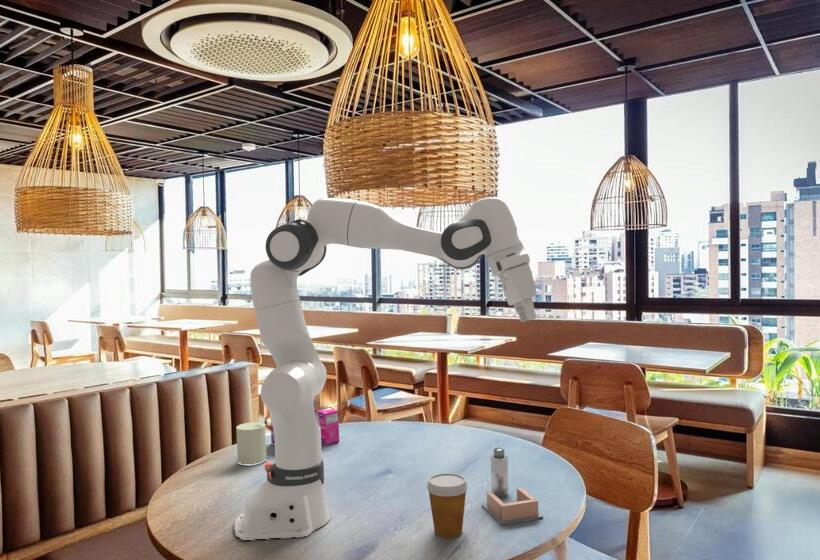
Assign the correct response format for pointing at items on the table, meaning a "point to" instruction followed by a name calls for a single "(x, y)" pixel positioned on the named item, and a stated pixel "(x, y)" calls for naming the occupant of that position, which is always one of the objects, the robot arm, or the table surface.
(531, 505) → the dock
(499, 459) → the silver water flask
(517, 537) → the table surface
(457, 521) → the disposable coffee cup
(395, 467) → the table surface
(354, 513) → the table surface
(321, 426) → the supplement box
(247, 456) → the can
